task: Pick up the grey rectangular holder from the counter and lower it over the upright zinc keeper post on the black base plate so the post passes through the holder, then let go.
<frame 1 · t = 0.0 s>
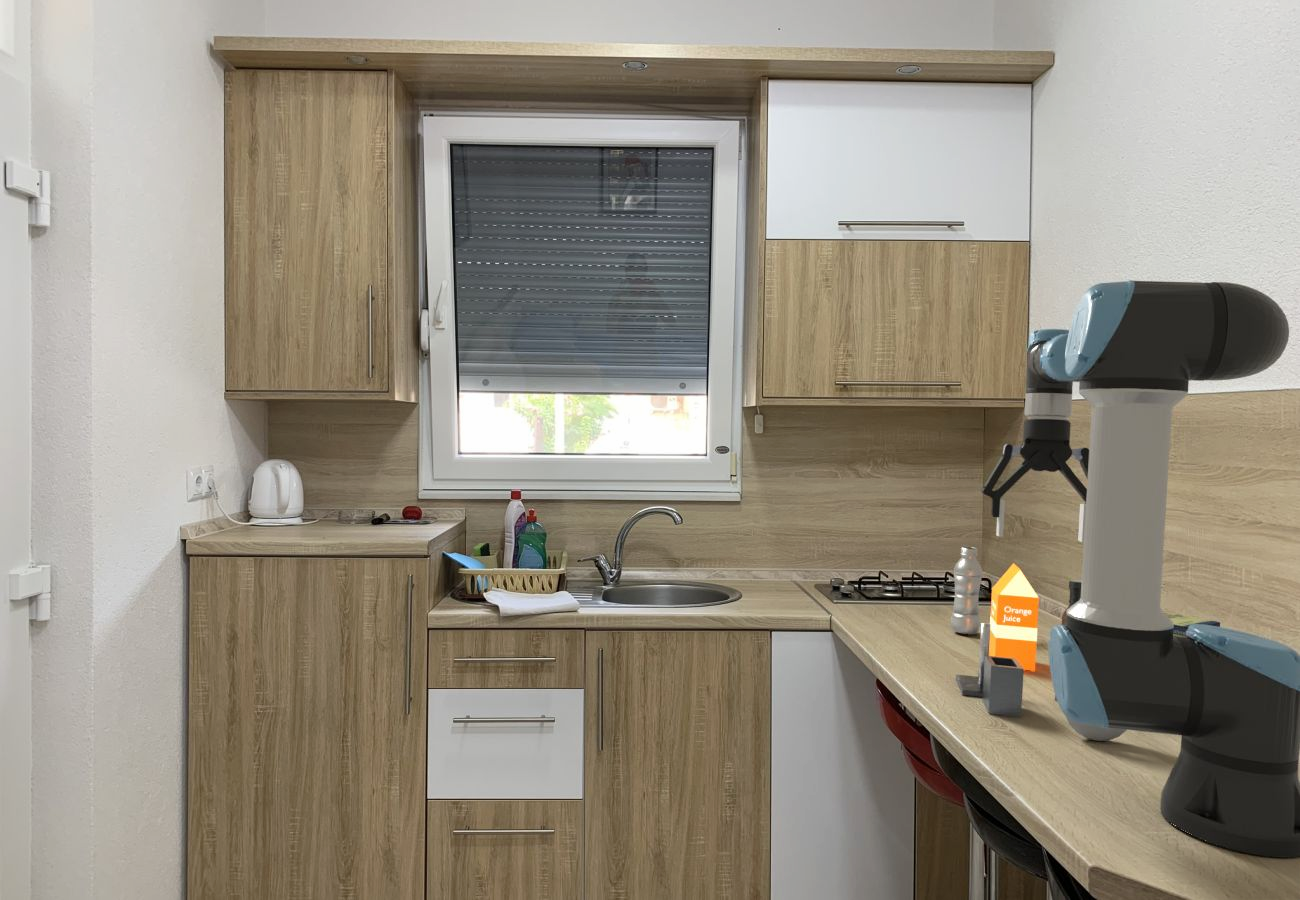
hand: (1040, 539, 155), 28 cm above the countertop, tool pointing down, fingers open, 13 cm apart
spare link: (1081, 706, 151), on the countertop
grey rectangular holder: (1001, 709, 147), on the countertop
sauce bottle: (1076, 689, 162), on the countertop
protein box: (1155, 703, 155), on the countertop
orange juice: (1011, 664, 178), on the countertop
grey rounded piece: (1096, 741, 134), on the countertop
plastic bottle: (964, 634, 203), on the countertop
keeper: (982, 689, 158), on the countertop
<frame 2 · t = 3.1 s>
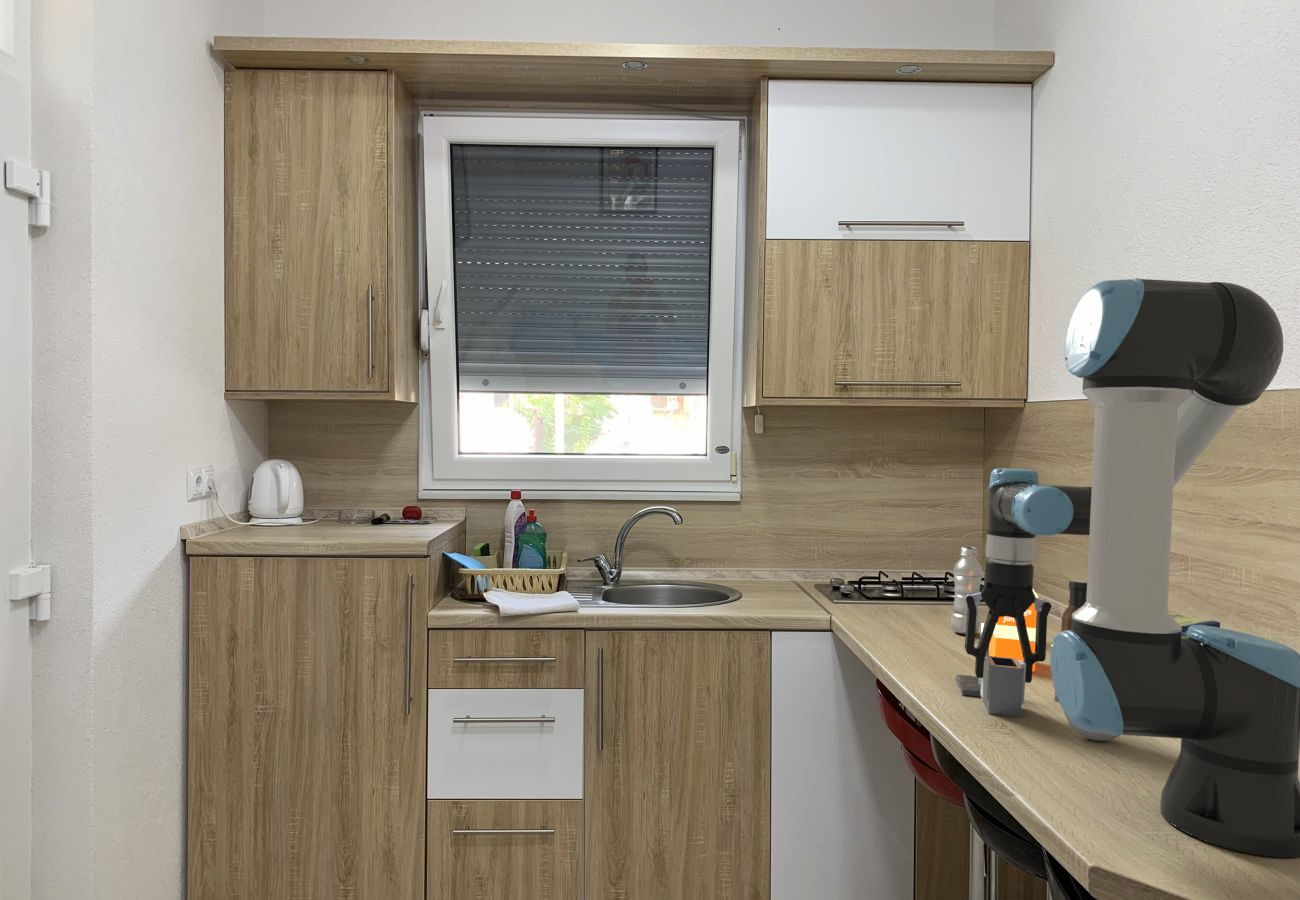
hand: (1001, 698, 147), 2 cm above the countertop, tool pointing down, fingers closed on grey rectangular holder, 5 cm apart
grey rectangular holder: (1001, 709, 147), on the countertop, touching gripper
everything else where it was.
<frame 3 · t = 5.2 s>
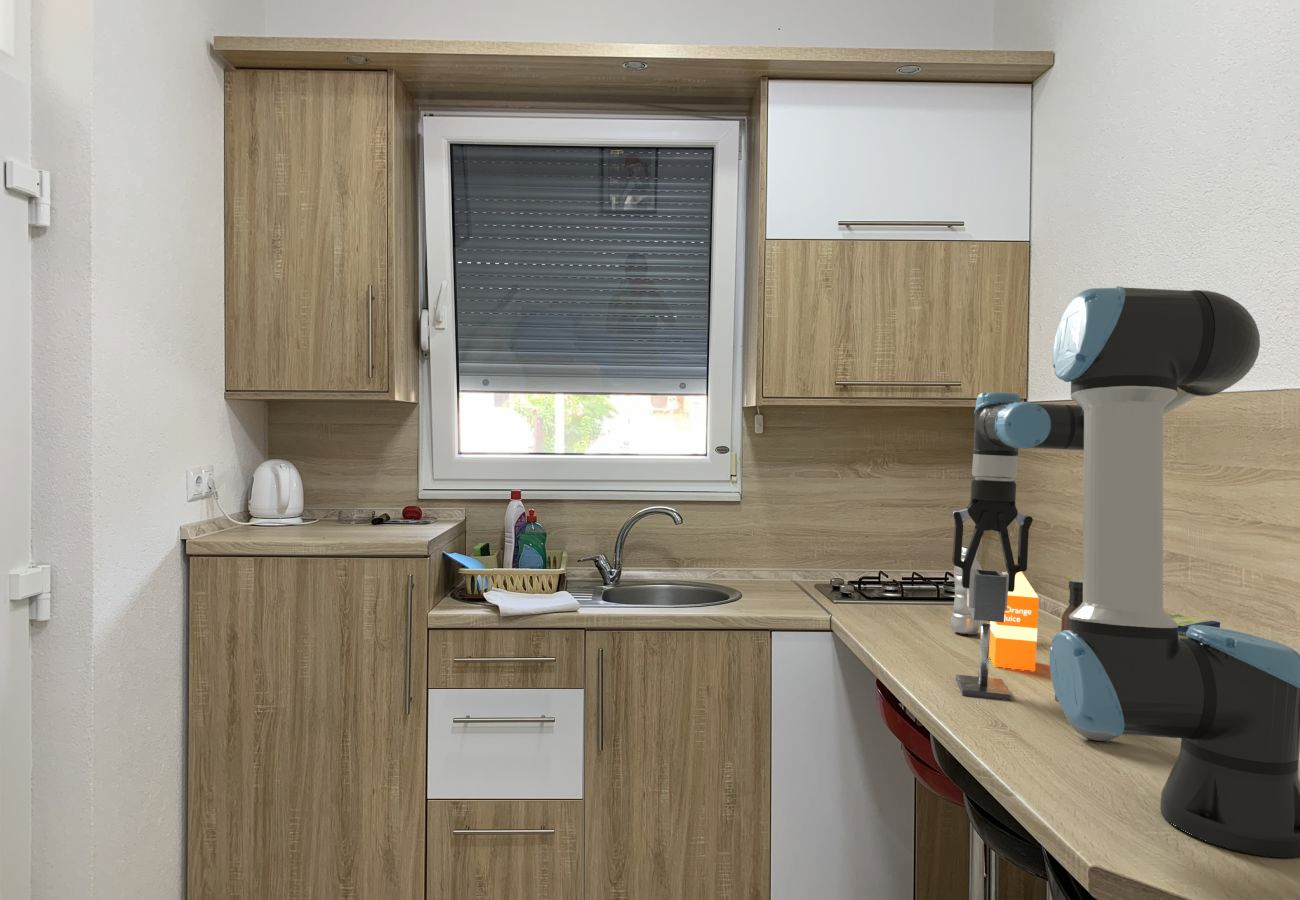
hand: (986, 607, 158), 15 cm above the countertop, tool pointing down, fingers closed on grey rectangular holder, 5 cm apart
grey rectangular holder: (986, 617, 158), point 13 cm above the countertop, touching gripper
everything else where it was.
when the fingers open (3 cm above the countertop, at t = 7.5 s): grey rectangular holder stays where it is, resting on keeper.
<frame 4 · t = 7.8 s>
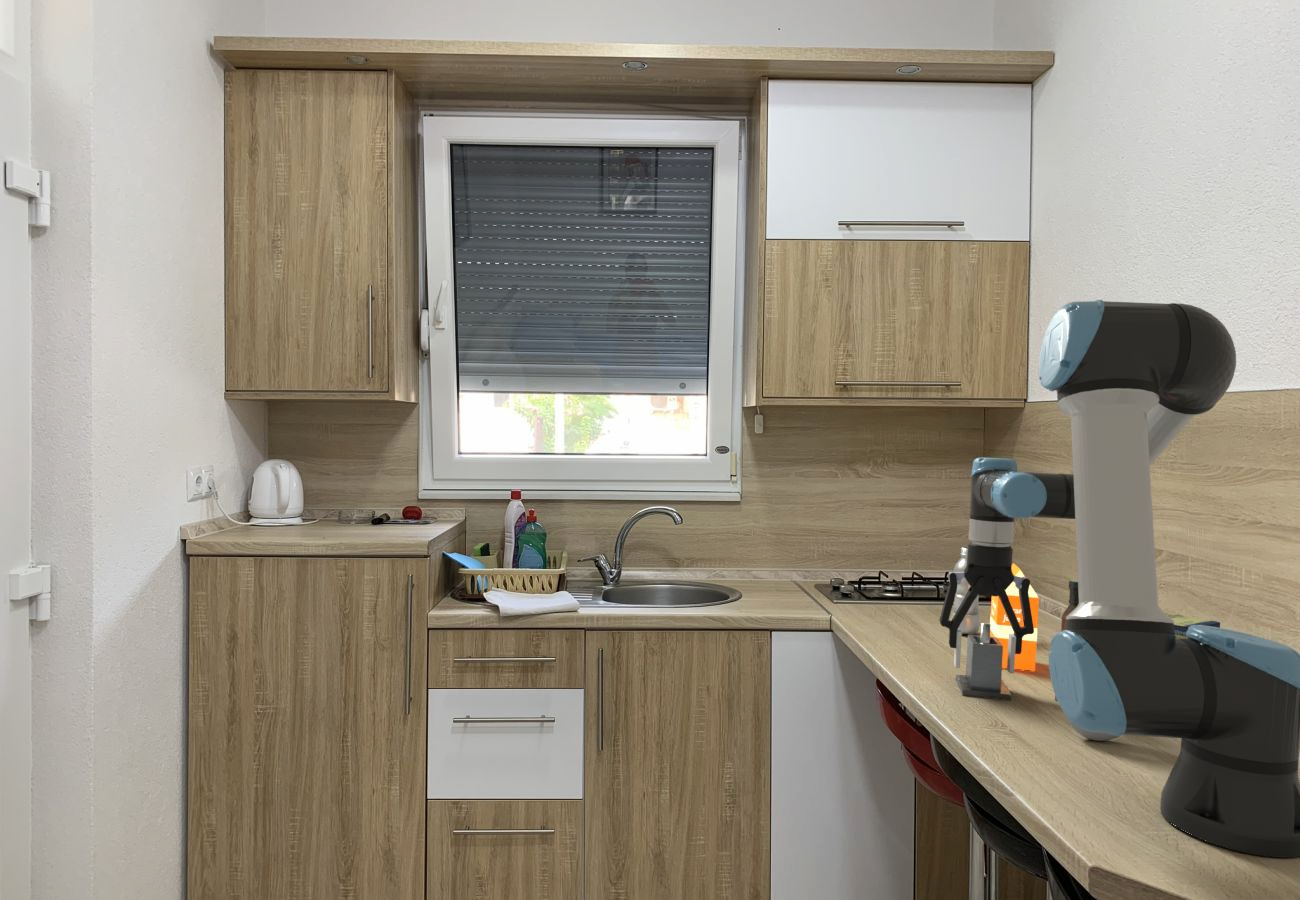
hand: (983, 668, 158), 4 cm above the countertop, tool pointing down, fingers open, 8 cm apart
grey rectangular holder: (982, 684, 158), point 1 cm above the countertop, touching keeper
everything else where it was.
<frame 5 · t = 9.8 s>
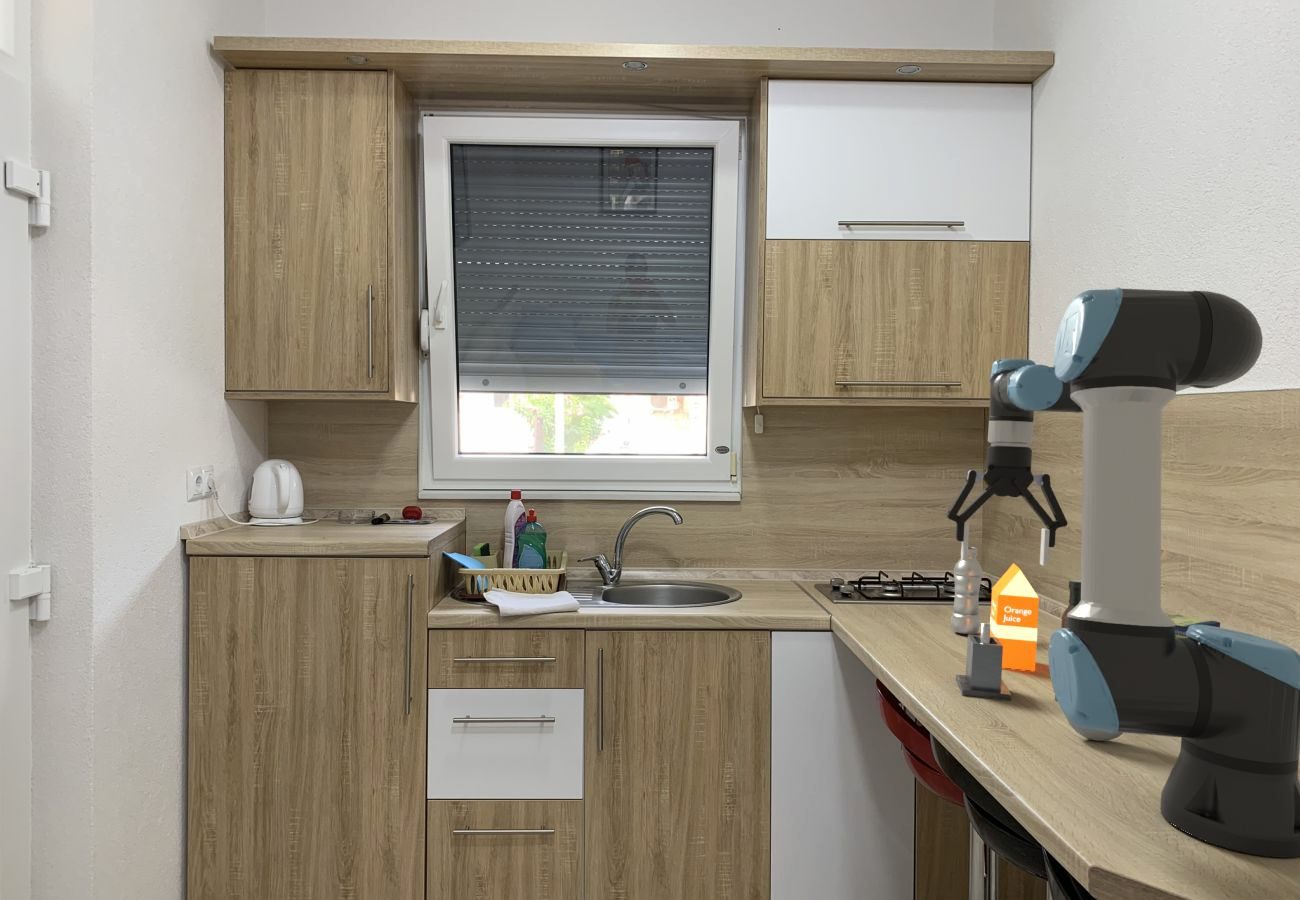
hand: (1003, 562, 159), 23 cm above the countertop, tool pointing down, fingers open, 13 cm apart
nothing on the countertop moved.
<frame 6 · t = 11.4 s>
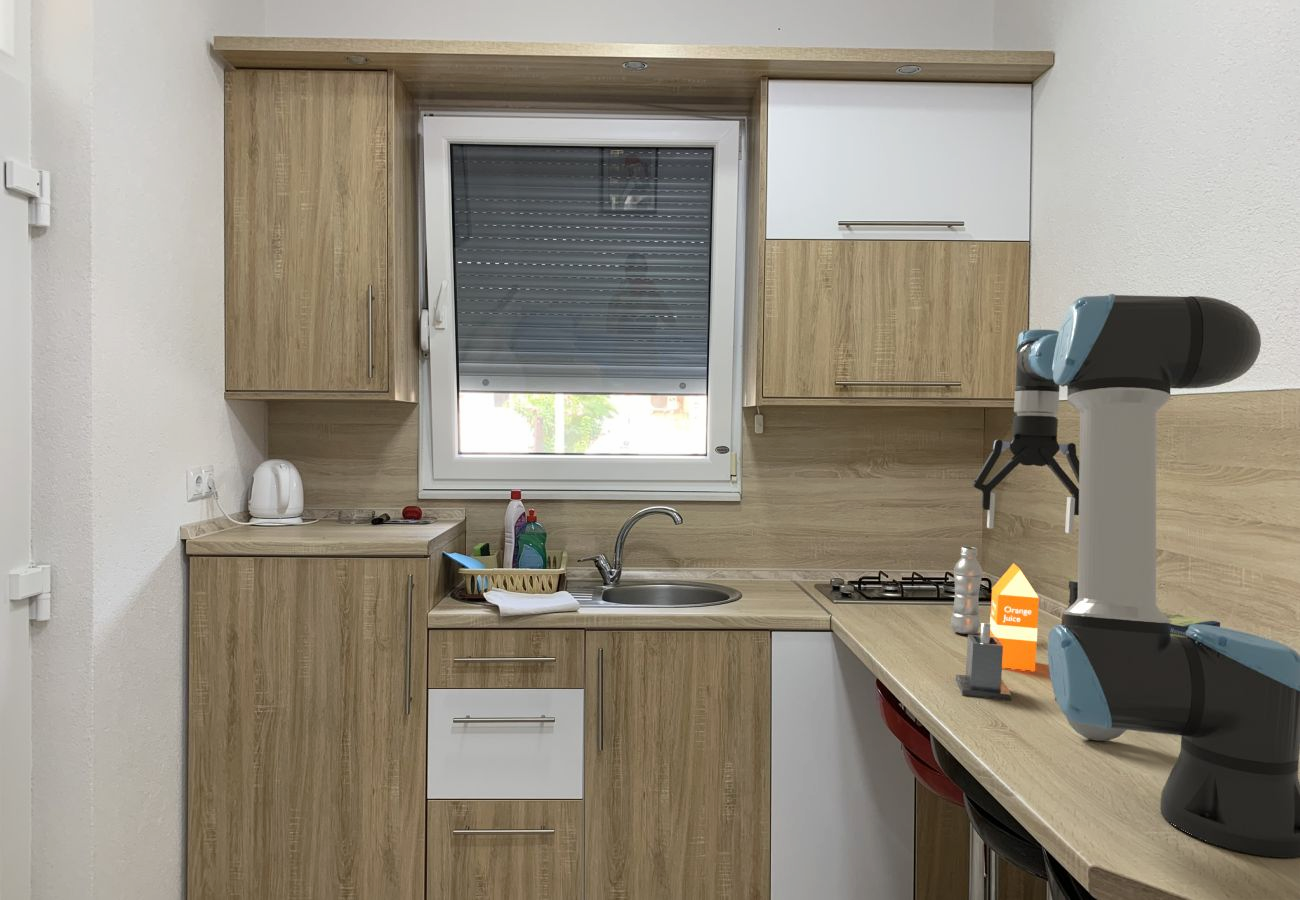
hand: (1029, 530, 161), 29 cm above the countertop, tool pointing down, fingers open, 13 cm apart
nothing on the countertop moved.
at the end: grey rectangular holder 0.0 cm off-centre on the keeper, point 1.0 cm above the keeper's base; the gripper is holding nothing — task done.
